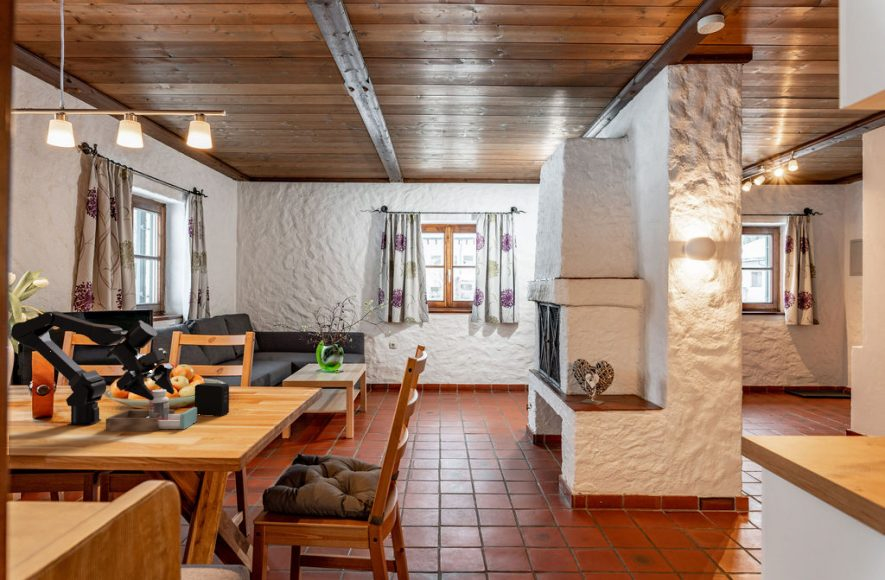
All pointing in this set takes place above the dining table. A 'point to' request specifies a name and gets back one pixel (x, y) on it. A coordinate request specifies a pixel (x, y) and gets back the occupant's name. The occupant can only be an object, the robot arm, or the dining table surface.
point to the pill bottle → (159, 405)
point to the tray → (179, 420)
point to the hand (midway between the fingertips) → (163, 396)
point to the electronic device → (212, 399)
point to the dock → (133, 421)
